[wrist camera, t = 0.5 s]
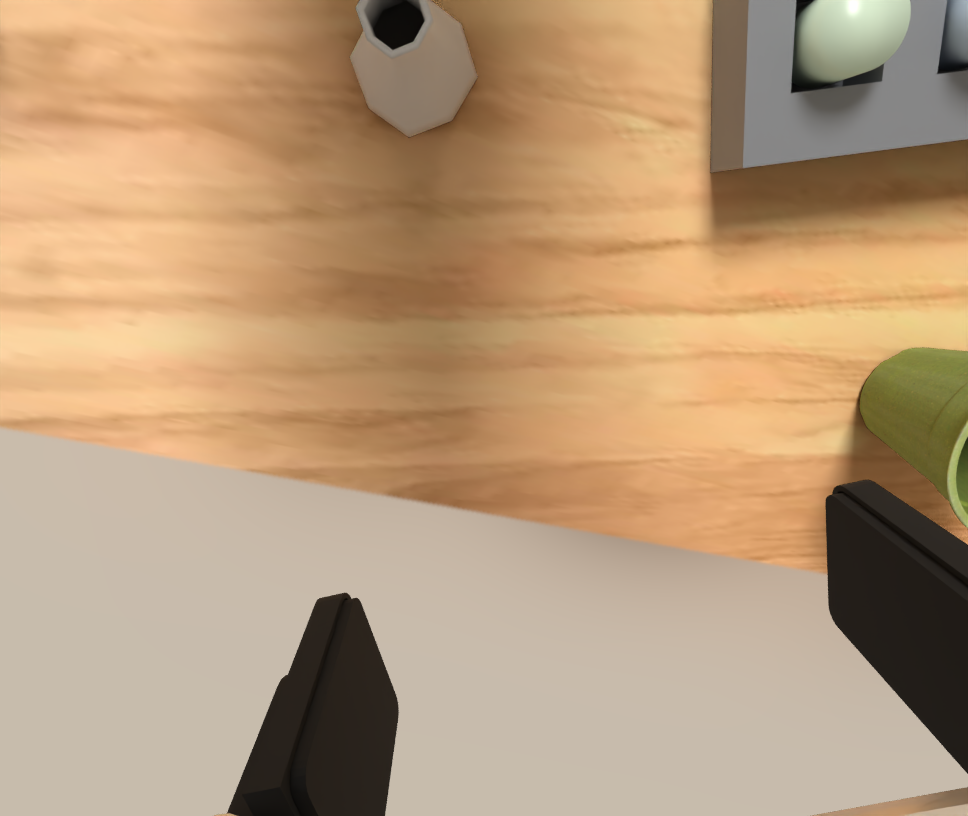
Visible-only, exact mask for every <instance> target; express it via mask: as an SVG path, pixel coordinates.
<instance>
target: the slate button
mask: <svg viewBox="0 0 968 816" xmlns="http://www.w3.org/2000/svg"><path fill="white" fill-rule="evenodd" d="M966 67H968V0H947V6H946V14H945V21H944V28H943V35H942V43H941V50H940V57H939V65H938V68H939V69H942V70H947V71H952V70H958V69H962V68H966Z"/></svg>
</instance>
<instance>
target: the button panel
mask: <svg viewBox="0 0 968 816" xmlns="http://www.w3.org/2000/svg"><path fill="white" fill-rule="evenodd" d="M811 1H813V0H713V51H712V111H711V172H719V171H727V170H735V169H743V168H750V167H758V166H766V165H774V164H781V163H789V162H797V161H805V160H812V159H820V158H828V157H836V156H843V155H851V154H859V153H867V152H875V151H882V150H890V149H898V148H906V147H913V146H921V145H929V144H937V143H944V142H952V141H960V140H968V67H966V68H962V69H958V70H952V71H947V70H942V69H939V68H938V65H939V57H940V50H941V43H942V35H943V28H944V21H945V14H946V6H947V0H910V5H911V15H910V22H909V26H908V30H907V32H906V35H905V37H904V39H903V41H902V43H901V45H900V46H899V48H898V49H897V51H896V52H895V53H894V54H893V55H892V56H891V57H890V58H889V59H888V60H887V61H886V62H885V63H884V64H882V65H880V66H879V67H877V68H875V69H873V70H871V71H868V72H865V73H862V74H859V75H856V76H853V77H850V78H847V79H844V80H841V81H838V82H835V83H832V84H829V85H826V86H823V87H820V88H815V89H808V88H803V87H800V86H797V85H796V84H794V83H793V82H792V65H793V48H794V31H795V14H796V12H797V11H798V10H800V9H801V8H802V7H803V6H805V5H806V4H808V3H810V2H811ZM711 172H710V173H711Z"/></svg>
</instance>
